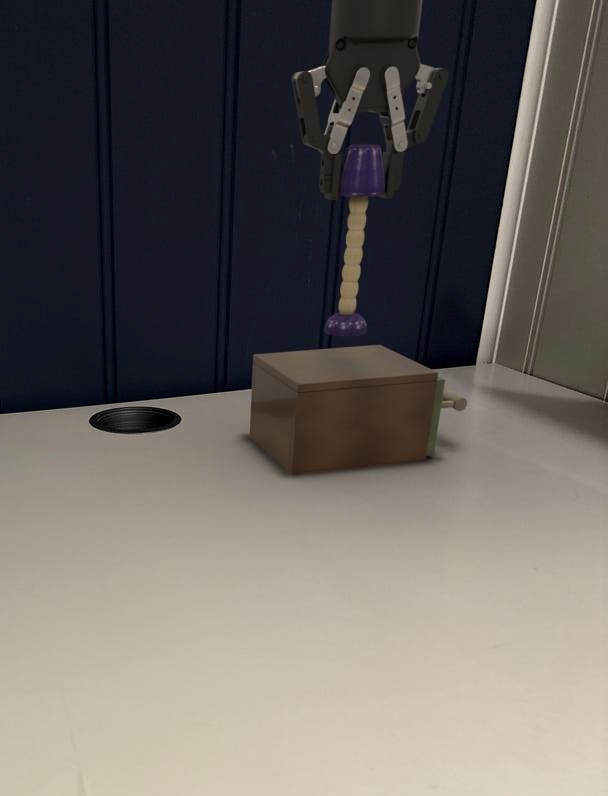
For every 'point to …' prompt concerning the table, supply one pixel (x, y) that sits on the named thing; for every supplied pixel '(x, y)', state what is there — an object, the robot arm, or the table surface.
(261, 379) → the cabinet
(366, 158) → the toy lamp
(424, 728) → the table surface
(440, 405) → the drawer
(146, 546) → the table surface
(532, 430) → the table surface
